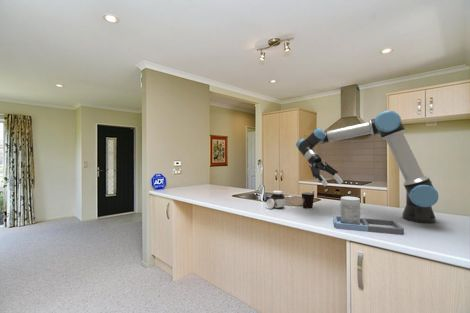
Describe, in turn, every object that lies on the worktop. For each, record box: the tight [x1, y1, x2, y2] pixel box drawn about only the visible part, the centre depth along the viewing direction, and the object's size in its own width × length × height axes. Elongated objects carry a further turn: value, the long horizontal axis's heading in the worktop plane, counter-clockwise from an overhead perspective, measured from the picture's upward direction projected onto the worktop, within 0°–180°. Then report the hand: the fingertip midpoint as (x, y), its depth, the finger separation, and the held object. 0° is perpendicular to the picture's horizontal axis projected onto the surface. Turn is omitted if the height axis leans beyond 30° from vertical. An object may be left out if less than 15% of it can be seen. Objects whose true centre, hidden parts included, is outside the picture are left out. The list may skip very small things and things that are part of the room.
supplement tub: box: [340, 195, 361, 225], centre depth 127 cm, size 10×10×15 cm
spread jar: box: [265, 190, 286, 210], centre depth 167 cm, size 12×11×12 cm
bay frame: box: [332, 215, 405, 236], centre depth 125 cm, size 30×16×2 cm, turn 70°
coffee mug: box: [301, 192, 315, 210], centre depth 170 cm, size 12×9×10 cm
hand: (334, 184), depth 139 cm, fingers open, 13 cm apart
